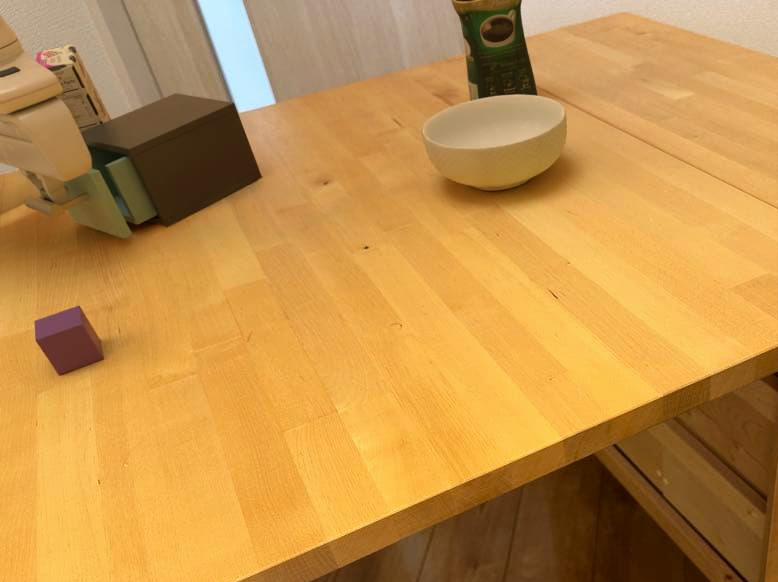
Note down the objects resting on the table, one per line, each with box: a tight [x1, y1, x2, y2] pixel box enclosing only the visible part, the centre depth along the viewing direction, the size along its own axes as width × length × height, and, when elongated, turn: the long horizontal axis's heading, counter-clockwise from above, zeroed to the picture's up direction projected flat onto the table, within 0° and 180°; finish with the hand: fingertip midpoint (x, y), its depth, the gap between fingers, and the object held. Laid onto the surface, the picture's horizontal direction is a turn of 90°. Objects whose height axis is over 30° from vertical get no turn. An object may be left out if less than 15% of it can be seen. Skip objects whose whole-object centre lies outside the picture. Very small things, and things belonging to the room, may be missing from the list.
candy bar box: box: [35, 43, 112, 132], centre depth 102 cm, size 11×5×16 cm, turn 25°
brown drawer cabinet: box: [81, 93, 263, 228], centre depth 97 cm, size 15×13×10 cm
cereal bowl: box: [421, 95, 568, 192], centre depth 89 cm, size 17×17×7 cm
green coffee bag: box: [451, 0, 538, 101], centre depth 105 cm, size 10×8×19 cm
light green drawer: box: [24, 145, 157, 239], centre depth 92 cm, size 18×12×8 cm, turn 145°
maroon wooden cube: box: [33, 305, 105, 376], centre depth 71 cm, size 4×4×4 cm
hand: (58, 202), depth 88 cm, fingers closed, pressing on light green drawer
